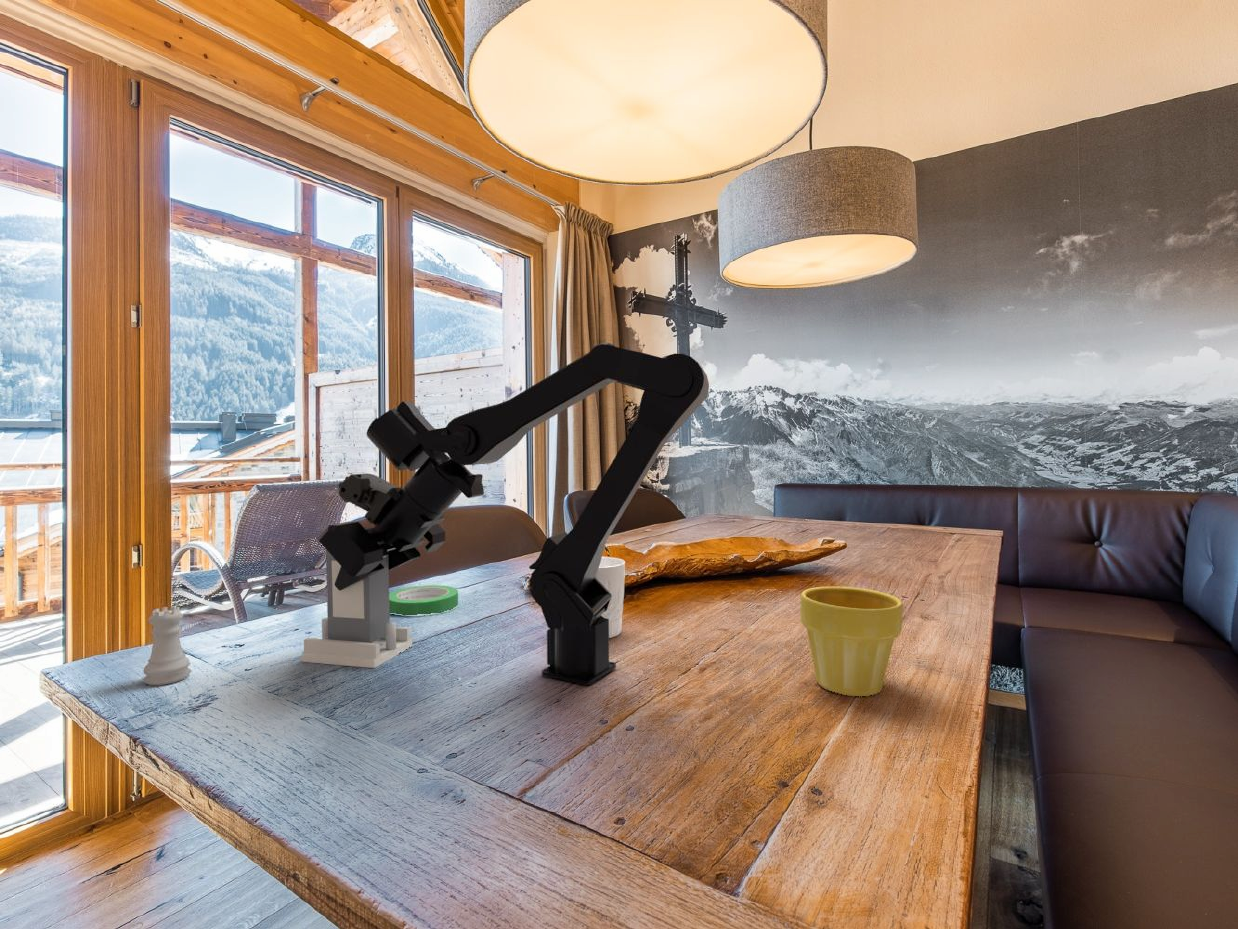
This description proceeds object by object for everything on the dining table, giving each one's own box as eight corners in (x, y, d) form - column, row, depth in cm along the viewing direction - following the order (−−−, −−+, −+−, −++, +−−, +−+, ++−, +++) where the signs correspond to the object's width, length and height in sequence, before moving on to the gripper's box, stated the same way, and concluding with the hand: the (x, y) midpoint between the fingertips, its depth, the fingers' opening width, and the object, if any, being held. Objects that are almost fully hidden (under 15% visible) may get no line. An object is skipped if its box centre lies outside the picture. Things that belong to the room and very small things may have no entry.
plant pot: (897, 674, 70) (898, 589, 70) (906, 711, 60) (907, 612, 60) (802, 663, 73) (803, 582, 73) (797, 696, 64) (797, 604, 63)
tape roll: (419, 622, 92) (418, 605, 92) (372, 612, 98) (371, 595, 98) (472, 605, 102) (472, 590, 101) (426, 597, 107) (426, 582, 107)
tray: (413, 646, 80) (412, 614, 80) (376, 668, 72) (375, 633, 72) (344, 641, 82) (343, 610, 82) (300, 661, 75) (300, 627, 75)
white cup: (595, 621, 91) (594, 554, 91) (636, 631, 86) (636, 560, 86) (557, 633, 85) (557, 562, 85) (600, 645, 80) (599, 569, 80)
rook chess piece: (201, 674, 71) (199, 605, 71) (163, 688, 66) (161, 616, 66) (171, 670, 72) (169, 603, 72) (132, 684, 68) (130, 613, 67)
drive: (389, 633, 79) (387, 540, 78) (370, 643, 75) (368, 545, 74) (349, 630, 80) (347, 539, 80) (328, 640, 76) (325, 544, 76)
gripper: (423, 450, 85) (356, 528, 88) (331, 452, 67) (250, 550, 69) (477, 507, 83) (406, 585, 86) (397, 525, 65) (311, 622, 68)
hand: (349, 583), depth 77 cm, fingers closed on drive, 4 cm apart
